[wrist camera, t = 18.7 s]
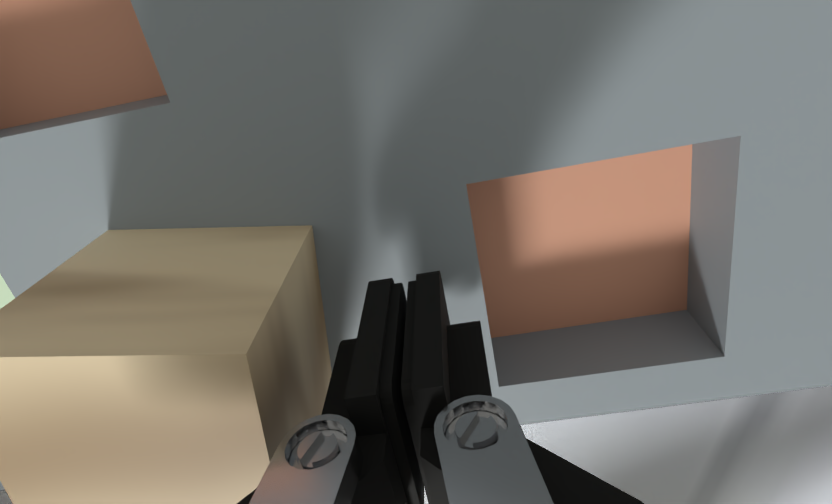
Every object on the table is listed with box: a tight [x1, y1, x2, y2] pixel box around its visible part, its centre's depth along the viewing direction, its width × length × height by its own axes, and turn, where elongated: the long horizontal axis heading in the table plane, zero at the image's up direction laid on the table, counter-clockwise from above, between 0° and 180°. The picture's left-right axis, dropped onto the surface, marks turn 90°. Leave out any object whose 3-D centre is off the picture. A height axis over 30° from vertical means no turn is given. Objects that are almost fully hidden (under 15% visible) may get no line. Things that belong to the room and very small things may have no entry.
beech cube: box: [0, 225, 332, 504], centre depth 12 cm, size 5×5×5 cm
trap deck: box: [0, 0, 832, 490], centre depth 12 cm, size 18×29×4 cm, turn 101°
